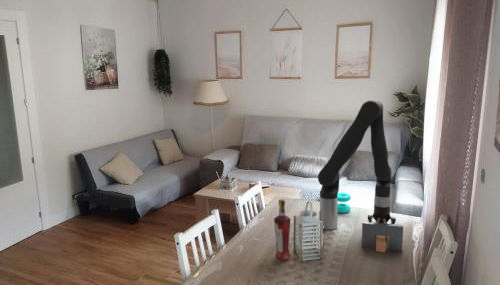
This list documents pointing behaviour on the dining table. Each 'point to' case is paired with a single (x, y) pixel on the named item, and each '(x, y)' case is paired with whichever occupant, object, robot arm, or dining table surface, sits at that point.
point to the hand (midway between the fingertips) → (380, 235)
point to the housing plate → (382, 234)
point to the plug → (380, 243)
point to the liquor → (282, 233)
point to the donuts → (341, 206)
